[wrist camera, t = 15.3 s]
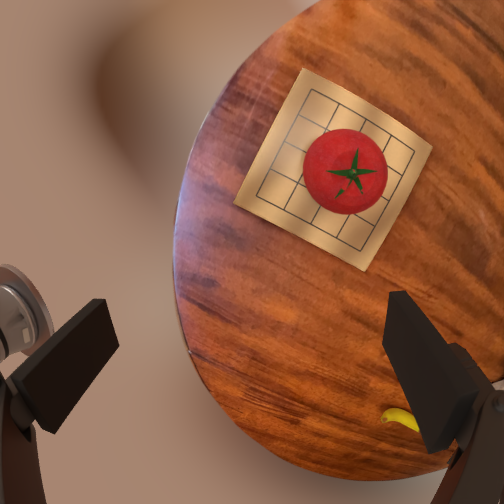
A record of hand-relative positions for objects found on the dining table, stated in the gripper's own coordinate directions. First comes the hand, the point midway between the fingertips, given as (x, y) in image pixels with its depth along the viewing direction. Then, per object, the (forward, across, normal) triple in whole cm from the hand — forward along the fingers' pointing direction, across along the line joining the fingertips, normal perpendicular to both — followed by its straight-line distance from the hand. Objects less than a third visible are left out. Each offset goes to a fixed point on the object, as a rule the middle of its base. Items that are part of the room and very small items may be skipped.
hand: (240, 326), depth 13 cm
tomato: (+23, +9, +5) cm, 25 cm away
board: (+24, +9, +5) cm, 26 cm away
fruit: (+24, +22, -35) cm, 48 cm away
